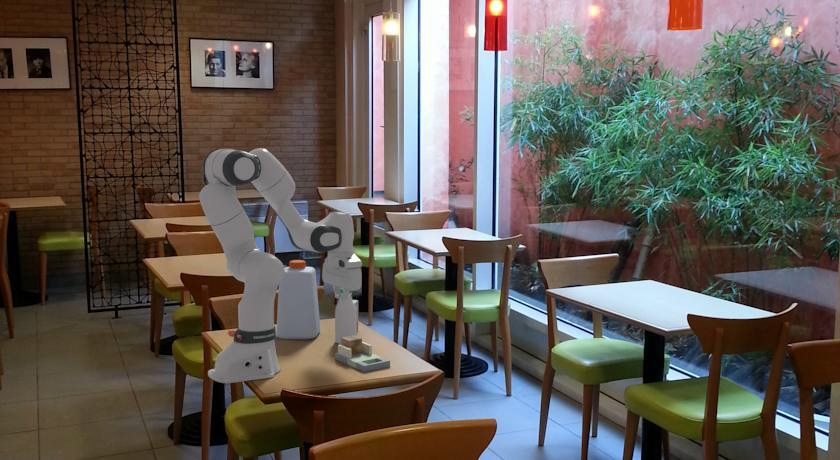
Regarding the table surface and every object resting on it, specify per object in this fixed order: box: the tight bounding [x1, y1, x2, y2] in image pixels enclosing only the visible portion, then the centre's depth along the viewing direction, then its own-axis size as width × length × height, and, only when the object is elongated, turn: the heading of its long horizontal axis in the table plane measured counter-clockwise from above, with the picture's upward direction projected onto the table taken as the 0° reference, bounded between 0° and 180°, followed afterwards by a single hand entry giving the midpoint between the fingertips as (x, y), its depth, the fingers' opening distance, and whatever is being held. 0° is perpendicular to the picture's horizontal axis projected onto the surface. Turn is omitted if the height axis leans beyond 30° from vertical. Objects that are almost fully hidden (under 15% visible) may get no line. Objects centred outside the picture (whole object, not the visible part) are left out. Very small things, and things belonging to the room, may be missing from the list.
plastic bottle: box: [275, 259, 321, 341], centre depth 309 cm, size 15×15×28 cm
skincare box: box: [352, 299, 359, 332], centre depth 314 cm, size 6×4×12 cm
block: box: [341, 335, 363, 355], centre depth 281 cm, size 5×5×5 cm
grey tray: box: [334, 341, 391, 373], centre depth 276 cm, size 10×18×5 cm, turn 36°
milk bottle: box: [334, 287, 358, 345], centre depth 300 cm, size 8×8×20 cm
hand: (341, 299), depth 284 cm, fingers open, 3 cm apart
